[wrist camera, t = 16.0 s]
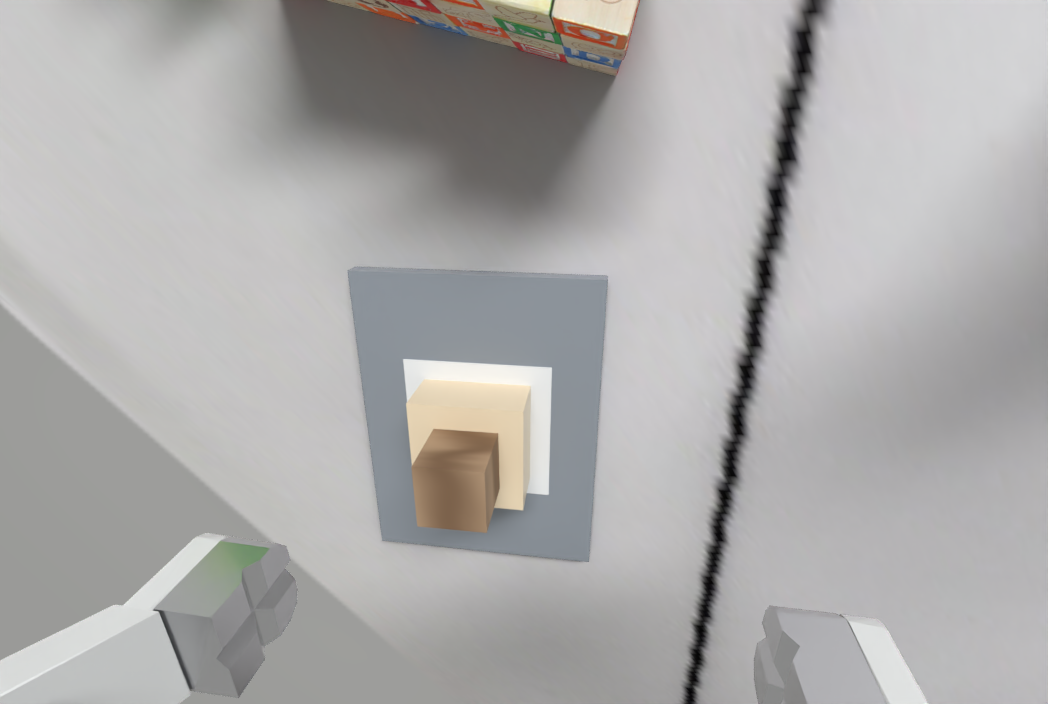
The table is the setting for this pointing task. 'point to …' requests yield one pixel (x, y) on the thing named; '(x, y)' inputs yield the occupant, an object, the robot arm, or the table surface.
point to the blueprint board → (493, 339)
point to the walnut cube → (456, 480)
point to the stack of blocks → (528, 25)
